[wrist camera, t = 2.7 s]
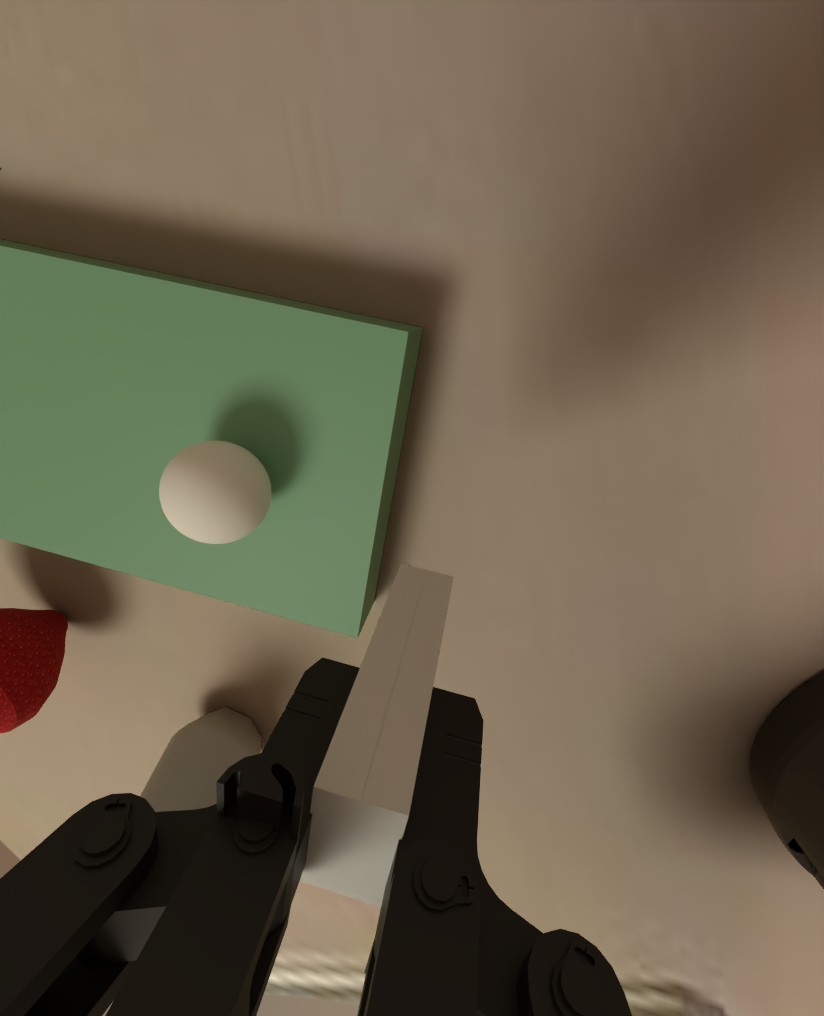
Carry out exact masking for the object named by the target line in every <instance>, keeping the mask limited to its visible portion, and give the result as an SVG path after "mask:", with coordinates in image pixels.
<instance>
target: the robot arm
mask: <svg viewBox="0 0 824 1016" xmlns="http://www.w3.org/2000/svg"><path fill="white" fill-rule="evenodd" d="M452 582H453V577H452V576H448V575H444V574H440V573H436V572H432V571H429V570H425V569H421V568H417V567H413V566H409V565H405V564H401V565H400V567H399V570H398V572H397V575H396V577H395V580H394V583H393V585H392V588H391V590H390V593H389V595H388V598H387V600H386V603H385V606H384V608H383V611H382V613H381V616H380V618H379V621H378V623H377V626H376V628H375V631H374V634H373V636H372V639H371V641H370V644H369V646H368V649H367V651H366V654H365V657H364V659H363V662H362V664H361V667H360V668H358V667H354V666H351V665H347V664H344V663H340V662H337V661H333V660H329V659H326V658H321V659H320V660H319V661H318V662H316V663H315V664H314V665H313V666H311V667H310V668H309V669H308V670H306V671H305V673H304V674H303V676H302V678H301V680H300V682H299V684H298V686H297V688H296V689H295V692H294V695H292V697H291V699H290V701H289V702H288V704H287V706H286V709H285V711H284V712H283V714H282V716H281V717H280V719H279V721H278V723H277V725H276V727H275V729H274V731H273V732H272V734H271V736H270V738H269V740H268V742H267V744H266V745H265V747H264V749H263V751H262V753H260V754H256V755H252V756H248V757H244V758H243V759H241V760H240V761H238V762H236V763H235V764H233V765H231V766H230V767H228V769H227V770H226V771H225V772H224V773H223V775H222V776H221V777H220V778H219V779H218V781H217V782H216V796H217V804H214V805H212V806H209V807H206V808H200V809H194V810H179V811H162V812H155V811H154V809H153V808H152V806H151V805H150V804H149V803H148V801H147V800H146V799H145V798H142V797H140V796H137V795H134V794H132V793H124V794H111V795H108V796H106V797H103V798H100V799H98V800H95V801H92V802H91V803H89V804H88V805H86V806H85V807H83V808H82V809H81V810H79V811H78V812H76V813H75V814H73V815H72V816H71V817H70V818H69V819H68V820H66V821H65V822H64V823H63V824H62V825H61V826H60V827H59V828H57V829H56V830H55V831H54V832H53V833H52V834H51V835H49V836H48V837H47V838H46V839H45V840H44V841H43V842H42V843H40V844H39V845H38V846H37V847H36V848H35V849H34V850H32V851H31V852H30V853H29V854H28V855H27V856H26V857H25V858H23V859H22V860H21V861H20V862H19V863H18V864H17V865H15V866H14V867H13V868H12V869H11V870H10V871H9V872H8V873H6V874H5V875H4V876H3V877H2V878H1V879H0V1016H102V1015H103V1014H104V1012H105V1011H106V1010H107V1008H108V1007H109V1006H110V1004H111V1003H112V1002H113V1003H112V1005H111V1007H110V1009H109V1011H108V1012H107V1014H106V1016H256V1014H257V1011H258V1008H259V1006H260V1003H261V1000H262V997H263V994H264V991H265V988H266V985H267V982H268V980H269V977H270V974H271V971H272V968H273V965H274V962H275V959H276V956H277V953H278V951H279V948H280V945H281V942H282V939H283V936H284V933H285V930H286V927H287V924H288V919H289V913H290V908H291V903H292V900H293V898H294V895H295V892H296V889H297V886H298V883H299V881H300V878H301V882H304V883H307V884H310V885H313V886H316V887H319V888H322V889H325V890H328V891H331V892H335V893H338V894H341V895H344V896H347V897H350V898H353V899H356V900H359V901H362V902H365V903H368V904H371V905H375V906H378V907H381V911H380V915H379V920H378V925H377V930H376V935H375V939H374V942H373V946H372V949H371V952H370V956H369V959H368V963H367V966H366V969H365V973H366V977H365V981H364V986H363V991H362V996H361V1001H360V1005H359V1010H358V1015H357V1016H632V1015H631V1012H630V1009H629V1006H628V1003H627V1000H626V997H625V994H624V991H623V989H622V987H621V985H620V983H619V980H618V978H617V976H616V974H615V972H614V970H613V967H612V966H611V965H610V964H609V962H608V961H607V960H606V959H605V957H604V956H603V955H602V953H601V952H600V951H599V950H598V948H597V947H596V946H594V945H593V944H592V943H590V942H589V941H588V940H586V939H585V938H584V937H582V936H581V935H579V934H578V933H574V932H570V931H567V930H563V929H558V930H554V931H550V932H547V933H544V934H543V933H542V932H541V931H539V930H538V929H537V928H535V927H534V926H533V925H531V924H530V923H529V922H527V921H526V920H525V919H523V918H522V917H521V916H519V915H518V914H517V913H515V912H514V911H513V910H511V909H510V908H509V907H508V906H507V905H506V904H505V903H504V902H503V901H501V900H500V899H499V898H498V896H497V895H496V894H495V892H494V891H493V890H492V888H491V887H490V886H489V884H488V882H487V880H486V878H485V876H484V874H483V872H482V870H481V866H480V862H479V859H478V853H477V829H478V810H479V791H480V772H481V767H480V765H481V753H482V748H481V746H482V735H483V719H482V716H481V713H480V711H479V708H478V705H477V703H476V700H475V699H474V698H471V697H467V696H464V695H460V694H456V693H453V692H449V691H446V690H442V689H438V688H435V687H433V684H434V678H435V673H436V668H437V662H438V657H439V652H440V646H441V641H442V636H443V630H444V625H445V619H446V614H447V609H448V603H449V598H450V593H451V587H452ZM750 775H751V781H752V784H753V787H754V790H755V792H756V794H757V797H758V798H759V800H760V802H761V804H762V806H763V808H764V810H765V812H766V814H767V816H768V818H769V820H770V822H771V824H772V826H773V828H774V830H775V832H776V833H777V835H778V837H779V838H780V840H781V841H782V843H783V844H784V845H785V847H786V848H787V850H788V851H789V852H790V853H791V854H792V855H793V857H794V858H795V859H796V860H797V861H798V862H799V863H800V864H801V865H802V866H803V867H804V868H805V869H806V870H807V871H808V872H809V873H811V874H812V875H813V876H814V877H815V878H816V880H817V881H818V882H819V884H820V885H821V886H822V887H823V889H824V673H823V674H821V675H819V676H817V677H816V678H814V679H812V680H811V681H809V682H807V683H806V684H805V685H803V686H802V687H800V688H799V689H797V690H796V691H795V692H794V693H792V694H791V695H790V696H788V697H787V698H786V699H785V700H784V701H783V702H782V703H781V704H780V705H779V706H778V707H777V708H776V709H775V710H774V711H773V712H772V713H771V715H770V716H769V717H768V718H767V720H766V721H765V723H764V724H763V726H762V727H761V729H760V731H759V733H758V734H757V737H756V739H755V741H754V744H753V748H752V751H751V757H750ZM301 875H302V876H301ZM114 999H115V1000H114ZM113 1000H114V1001H113Z"/></svg>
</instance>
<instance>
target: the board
mask: <svg viewBox="0 0 824 1016" xmlns="http://www.w3.org/2000/svg"><path fill="white" fill-rule="evenodd" d="M422 330H423V328H422V327H417V326H412V325H407V324H402V323H398V322H393V321H388V320H383V319H379V318H374V317H369V316H364V315H360V314H355V313H350V312H345V311H341V310H336V309H331V308H326V307H321V306H317V305H312V304H307V303H302V302H298V301H293V300H288V299H283V298H279V297H274V296H269V295H264V294H260V293H255V292H250V291H245V290H240V289H236V288H231V287H226V286H221V285H217V284H212V283H207V282H202V281H198V280H193V279H188V278H183V277H179V276H174V275H169V274H164V273H159V272H155V271H150V270H145V269H140V268H136V267H131V266H126V265H121V264H117V263H112V262H107V261H102V260H98V259H93V258H88V257H83V256H78V255H74V254H69V253H64V252H59V251H55V250H50V249H45V248H40V247H36V246H31V245H26V244H21V243H17V242H12V241H7V240H2V239H0V538H1V539H5V540H9V541H12V542H16V543H19V544H23V545H26V546H30V547H34V548H37V549H41V550H44V551H48V552H51V553H55V554H58V555H62V556H66V557H69V558H73V559H76V560H80V561H83V562H87V563H91V564H94V565H98V566H101V567H105V568H108V569H112V570H116V571H119V572H123V573H126V574H130V575H133V576H137V577H141V578H144V579H148V580H151V581H155V582H158V583H162V584H166V585H169V586H173V587H176V588H180V589H183V590H187V591H191V592H194V593H198V594H201V595H205V596H208V597H212V598H216V599H219V600H223V601H226V602H230V603H233V604H237V605H241V606H244V607H248V608H251V609H255V610H258V611H262V612H266V613H269V614H273V615H276V616H280V617H283V618H287V619H291V620H294V621H298V622H301V623H305V624H308V625H312V626H316V627H319V628H323V629H326V630H330V631H333V632H337V633H340V634H344V635H348V636H351V637H355V638H358V636H359V634H360V632H361V629H362V627H363V625H364V623H365V621H366V618H367V616H368V614H369V612H370V610H371V607H372V605H373V603H374V599H375V593H376V587H377V582H378V576H379V571H380V565H381V559H382V554H383V548H384V543H385V537H386V531H387V526H388V520H389V515H390V509H391V503H392V498H393V492H394V487H395V481H396V475H397V470H398V464H399V459H400V453H401V447H402V442H403V436H404V431H405V425H406V419H407V414H408V408H409V403H410V397H411V391H412V386H413V380H414V375H415V369H416V363H417V358H418V352H419V347H420V341H421V335H422ZM212 440H216V441H226V442H230V443H233V444H236V445H239V446H241V447H243V448H245V449H246V450H248V451H249V452H251V453H252V454H253V455H254V456H255V457H256V458H257V459H258V460H259V461H260V462H261V463H262V465H263V466H264V468H265V470H266V472H267V474H268V476H269V479H270V483H271V503H270V506H269V510H268V512H267V514H266V516H265V518H264V519H263V521H262V522H261V524H260V525H259V526H258V527H257V528H256V529H255V530H254V531H252V532H251V533H250V534H248V535H247V536H245V537H243V538H241V539H239V540H236V541H234V542H230V543H225V544H208V543H202V542H198V541H195V540H193V539H191V538H189V537H187V536H185V535H183V534H182V533H180V532H179V531H178V530H177V529H176V528H174V526H173V525H172V524H171V523H170V522H169V521H168V519H167V517H166V516H165V514H164V512H163V509H162V507H161V503H160V498H159V486H160V480H161V477H162V474H163V472H164V470H165V468H166V466H167V465H168V463H169V462H170V460H171V459H172V458H173V457H174V456H175V455H176V454H178V453H179V452H180V451H182V450H183V449H185V448H186V447H188V446H191V445H193V444H196V443H199V442H203V441H212Z"/></svg>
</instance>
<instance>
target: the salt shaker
mask: <svg viewBox="0 0 824 1016" xmlns="http://www.w3.org/2000/svg"><path fill="white" fill-rule="evenodd" d="M260 748H261V736H260V735H259V733H258V731H257V729H256V727H255V726H254V724H253V722H252V720H251V718H249V717H247V716H244V715H242V714H240V713H238V712H235V711H233V710H231V709H229V708H227V707H224V708H221V709H218V710H216V711H213V712H210V713H207V714H205V715H204V716H202V717H200V718H199V719H197V720H195V721H193V722H191V723H189V724H188V725H186V726H185V727H183V728H182V729H181V730H179V731H178V732H177V733H176V734H175V735H174V736H173V737H172V738H171V740H170V742H169V744H168V746H167V747H166V749H165V751H164V753H163V755H162V757H161V759H160V760H159V762H158V764H157V766H156V768H155V770H154V772H153V773H152V775H151V777H150V779H149V781H148V783H147V785H146V786H145V788H144V790H143V792H142V794H141V796H140V797H142V798H145V799H146V800H147V801H148V803H149V804H150V805H151V806H152V808H153V809H154V811H155V812H162V811H179V810H194V809H200V808H206V807H209V806H212V805H214V804H217V796H216V782H217V781H218V779H219V778H220V777H221V776H222V775H223V773H224V772H225V771H226V770H227V769H228V767H230V766H231V765H233V764H235V763H236V762H238V761H240V760H241V759H243V758H244V757H248V756H252V755H256V754H260Z"/></svg>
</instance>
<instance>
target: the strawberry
mask: <svg viewBox="0 0 824 1016" xmlns="http://www.w3.org/2000/svg"><path fill="white" fill-rule="evenodd" d="M67 628H68V622H67V619H66V617H65V616H64V615H63V614H62V613H60V612H58V611H55V610H27V609H15V608H1V609H0V733H5V732H8V731H11V730H13V729H15V728H16V727H18V726H20V725H21V724H23V723H25V722H26V721H28V720H30V719H31V718H33V717H34V716H35V715H36V714H37V713H38V711H39V710H40V708H41V707H42V706H43V704H44V703H45V701H46V700H47V698H48V697H49V696H50V694H51V693H52V691H53V690H54V688H55V687H56V684H57V681H58V677H59V673H60V670H61V666H62V662H63V658H64V653H65V637H66V631H67Z"/></svg>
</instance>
